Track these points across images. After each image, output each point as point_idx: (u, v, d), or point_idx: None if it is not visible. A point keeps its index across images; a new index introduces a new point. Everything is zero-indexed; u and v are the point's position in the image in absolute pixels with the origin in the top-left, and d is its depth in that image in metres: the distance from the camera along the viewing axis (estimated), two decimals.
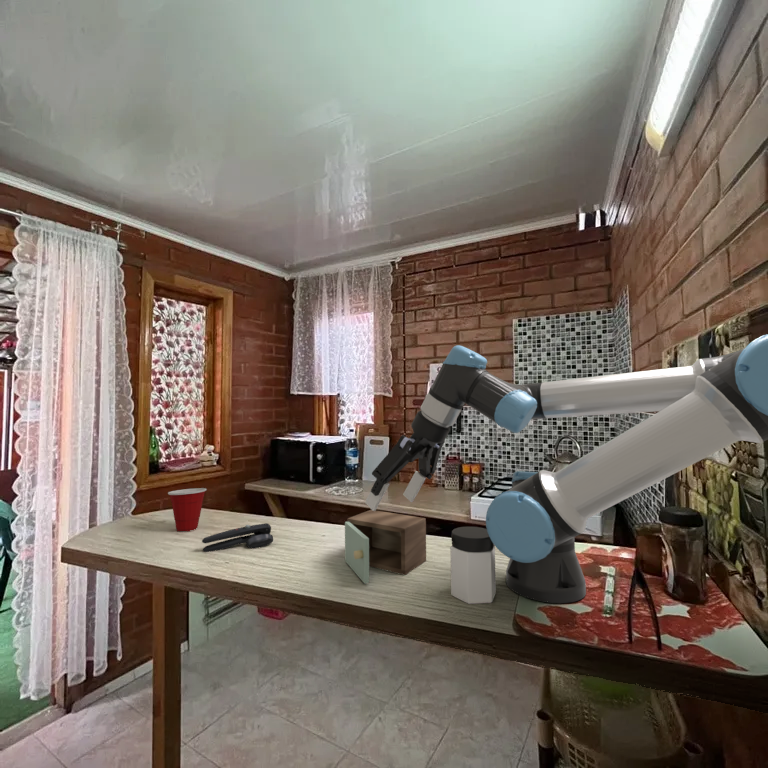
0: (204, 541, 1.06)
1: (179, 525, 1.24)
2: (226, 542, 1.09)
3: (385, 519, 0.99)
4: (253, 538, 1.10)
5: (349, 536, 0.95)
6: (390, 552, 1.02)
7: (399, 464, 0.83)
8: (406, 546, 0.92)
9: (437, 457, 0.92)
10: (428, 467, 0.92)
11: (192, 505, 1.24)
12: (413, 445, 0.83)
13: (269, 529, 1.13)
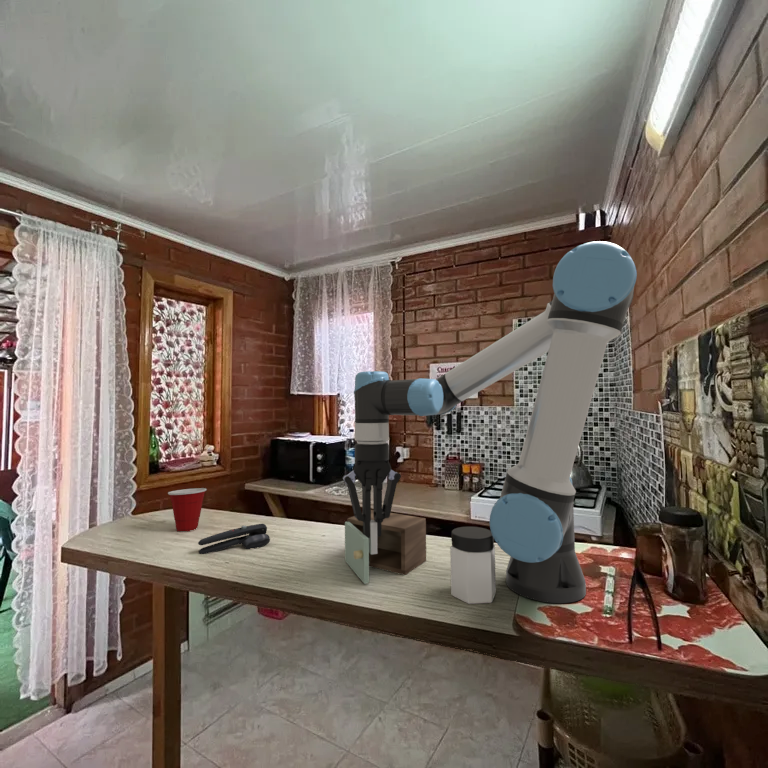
0: (200, 543, 1.05)
1: (179, 525, 1.24)
2: (222, 543, 1.08)
3: (385, 519, 0.99)
4: (250, 538, 1.10)
5: (349, 536, 0.95)
6: (390, 552, 1.02)
7: (364, 500, 0.89)
8: (406, 546, 0.92)
9: (392, 494, 0.91)
10: (379, 505, 0.90)
11: (192, 505, 1.24)
12: (356, 474, 0.89)
13: (265, 529, 1.13)
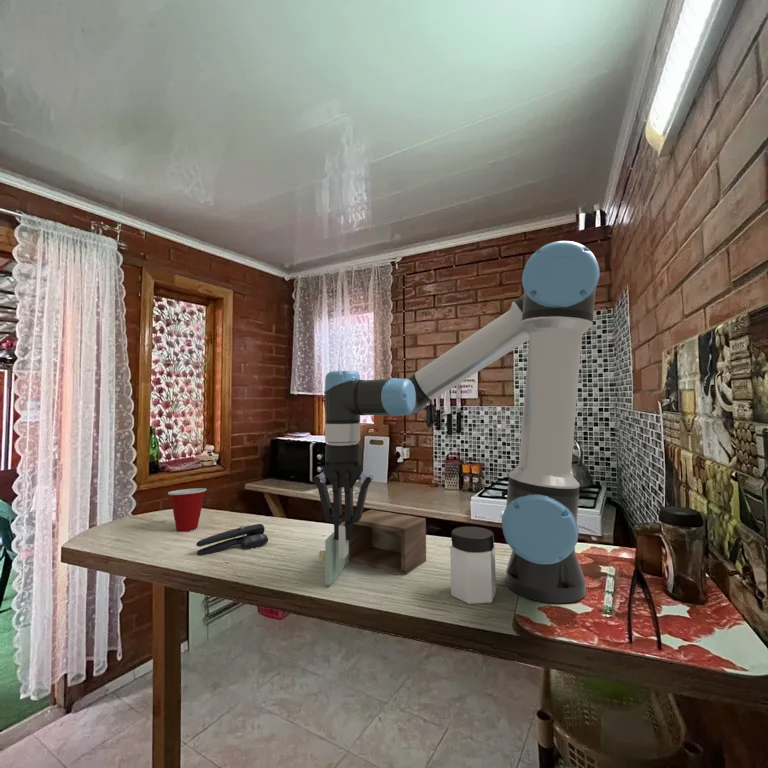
0: (199, 544, 1.04)
1: (179, 525, 1.24)
2: (221, 544, 1.07)
3: (385, 519, 0.99)
4: (248, 539, 1.10)
5: None
6: (390, 552, 1.02)
7: None
8: (406, 546, 0.92)
9: (361, 498, 0.87)
10: (347, 508, 0.87)
11: (192, 505, 1.24)
12: (325, 474, 0.89)
13: (263, 529, 1.13)
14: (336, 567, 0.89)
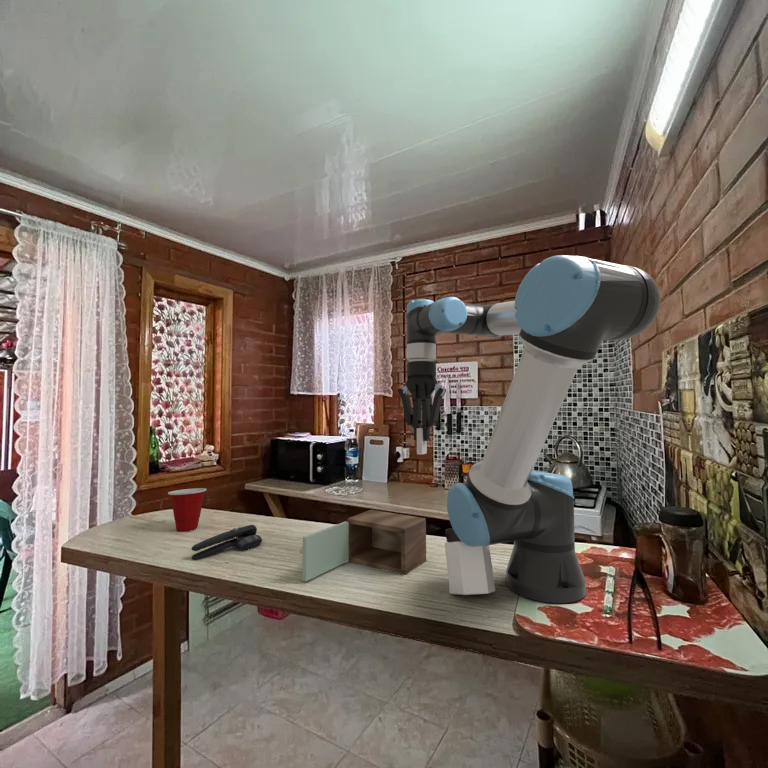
0: (195, 549, 1.01)
1: (179, 525, 1.24)
2: (216, 547, 1.05)
3: (385, 519, 0.99)
4: (243, 540, 1.08)
5: None
6: (390, 552, 1.02)
7: None
8: (406, 546, 0.92)
9: (434, 405, 1.03)
10: (424, 414, 1.04)
11: (192, 505, 1.24)
12: (407, 387, 1.08)
13: (256, 530, 1.13)
14: (319, 565, 0.90)
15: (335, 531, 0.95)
